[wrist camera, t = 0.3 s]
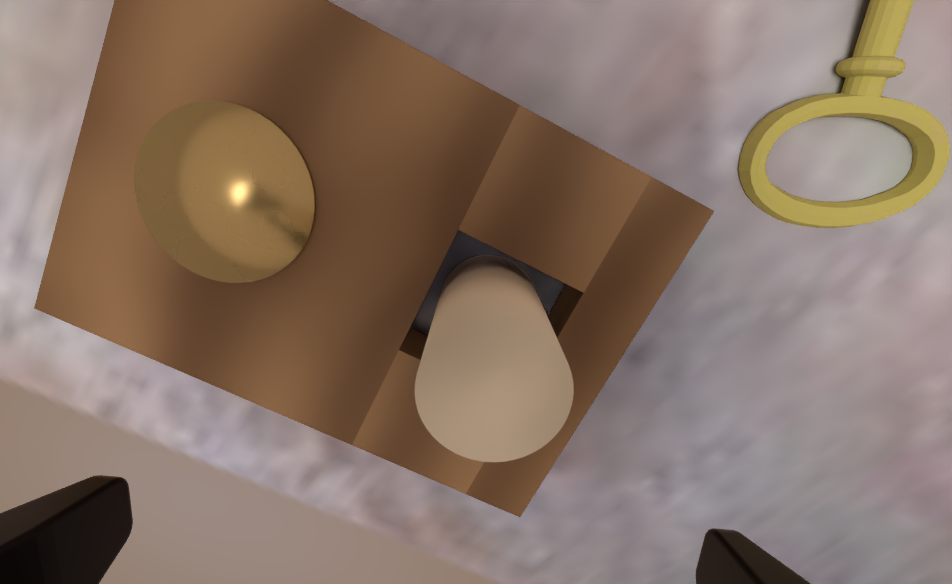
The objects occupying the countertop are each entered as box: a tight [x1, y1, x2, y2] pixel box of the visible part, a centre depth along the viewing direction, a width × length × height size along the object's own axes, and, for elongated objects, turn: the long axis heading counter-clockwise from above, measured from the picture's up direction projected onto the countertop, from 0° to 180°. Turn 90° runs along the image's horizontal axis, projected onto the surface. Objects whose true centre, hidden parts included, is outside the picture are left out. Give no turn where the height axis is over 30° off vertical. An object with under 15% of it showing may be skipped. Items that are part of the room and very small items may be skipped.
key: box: [738, 0, 950, 228], centre depth 16 cm, size 7×12×2 cm, turn 15°
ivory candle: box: [415, 255, 574, 462], centre depth 16 cm, size 4×4×8 cm
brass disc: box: [134, 101, 316, 283], centre depth 16 cm, size 6×6×1 cm
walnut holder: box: [35, 0, 714, 517], centre depth 18 cm, size 20×14×2 cm
